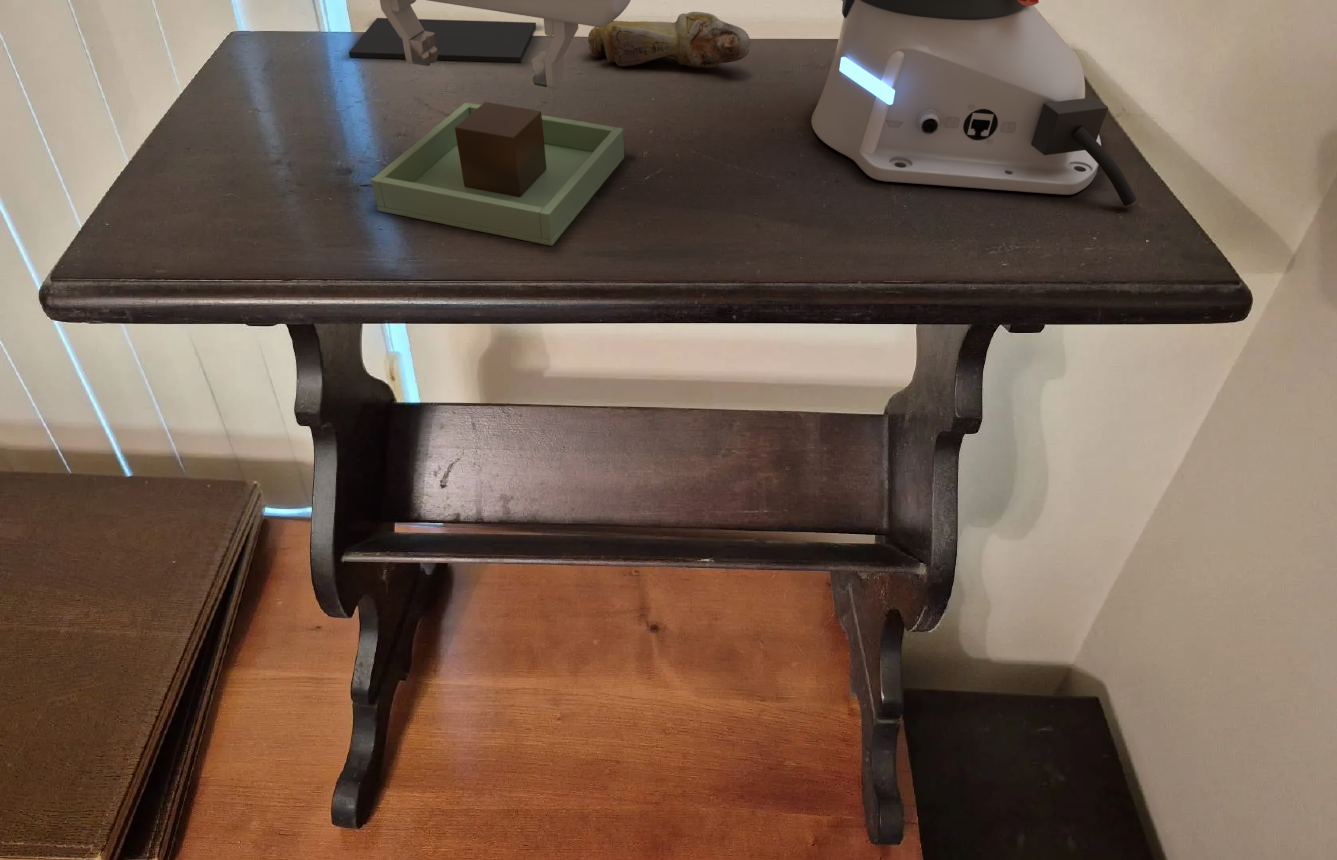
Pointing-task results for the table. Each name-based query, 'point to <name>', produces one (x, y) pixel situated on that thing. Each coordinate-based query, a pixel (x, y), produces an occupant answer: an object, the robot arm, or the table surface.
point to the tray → (437, 193)
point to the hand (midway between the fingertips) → (484, 73)
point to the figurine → (671, 41)
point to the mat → (452, 40)
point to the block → (501, 149)
